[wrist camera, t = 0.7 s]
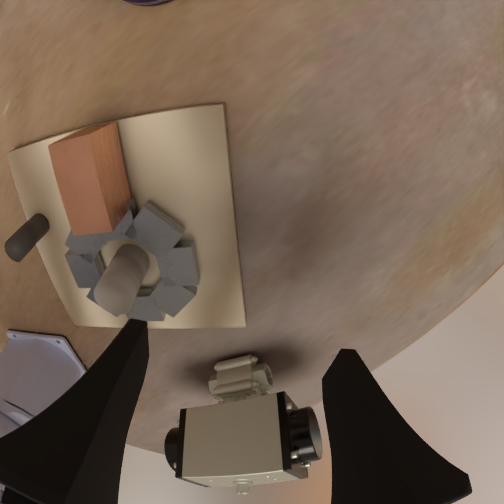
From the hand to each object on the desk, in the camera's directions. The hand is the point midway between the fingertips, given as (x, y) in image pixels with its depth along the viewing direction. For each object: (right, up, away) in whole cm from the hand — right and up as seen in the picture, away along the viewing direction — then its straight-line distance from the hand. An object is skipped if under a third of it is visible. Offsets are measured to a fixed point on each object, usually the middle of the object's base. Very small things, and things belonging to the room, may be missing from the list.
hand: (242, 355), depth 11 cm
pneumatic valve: (-1, -7, +16) cm, 18 cm away
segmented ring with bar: (-8, +5, +7) cm, 12 cm away
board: (-8, +5, +9) cm, 13 cm away
